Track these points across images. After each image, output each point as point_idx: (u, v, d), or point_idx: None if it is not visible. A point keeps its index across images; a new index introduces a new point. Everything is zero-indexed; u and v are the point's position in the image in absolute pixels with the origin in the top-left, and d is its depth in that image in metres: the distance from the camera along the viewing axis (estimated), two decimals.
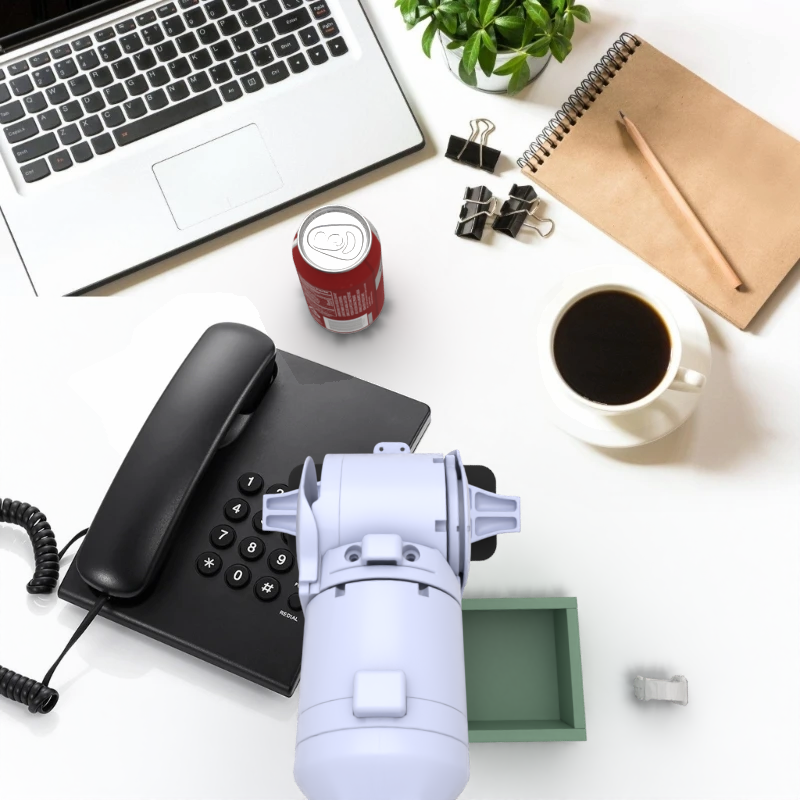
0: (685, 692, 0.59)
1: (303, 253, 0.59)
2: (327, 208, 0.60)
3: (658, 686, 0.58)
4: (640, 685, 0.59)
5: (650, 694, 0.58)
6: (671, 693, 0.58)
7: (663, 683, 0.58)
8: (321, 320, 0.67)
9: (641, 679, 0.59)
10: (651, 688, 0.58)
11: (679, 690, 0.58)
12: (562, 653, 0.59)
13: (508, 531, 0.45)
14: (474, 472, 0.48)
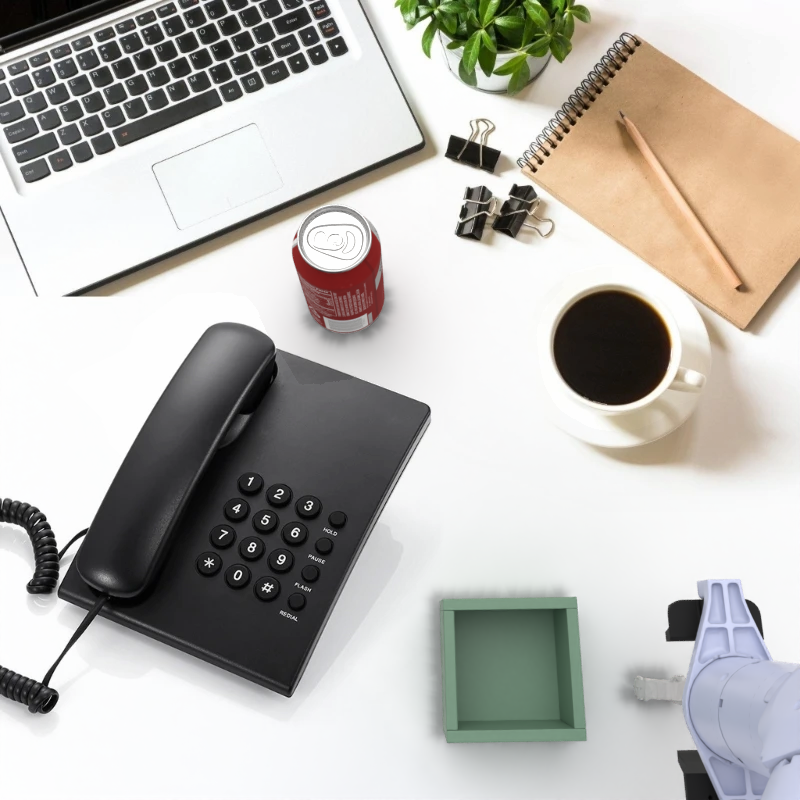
0: None
1: (303, 253, 0.59)
2: (327, 208, 0.60)
3: (658, 686, 0.58)
4: (640, 685, 0.59)
5: (650, 694, 0.58)
6: (671, 693, 0.58)
7: (663, 683, 0.58)
8: (321, 320, 0.67)
9: (641, 679, 0.59)
10: (651, 688, 0.58)
11: (679, 690, 0.58)
12: (562, 653, 0.59)
13: None
14: None
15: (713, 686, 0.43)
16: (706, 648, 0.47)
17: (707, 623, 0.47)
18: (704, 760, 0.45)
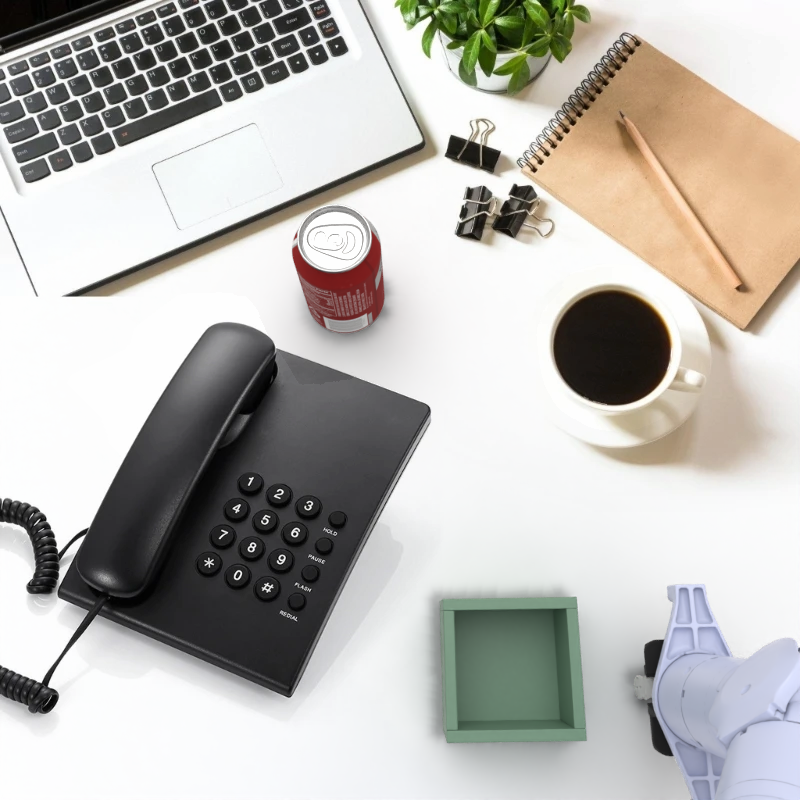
0: None
1: (303, 253, 0.59)
2: (327, 208, 0.60)
3: None
4: (640, 684, 0.59)
5: (650, 693, 0.58)
6: None
7: None
8: (321, 320, 0.67)
9: (641, 678, 0.59)
10: (650, 687, 0.59)
11: None
12: (562, 653, 0.59)
13: None
14: None
15: (678, 679, 0.49)
16: (674, 646, 0.53)
17: (675, 623, 0.53)
18: (670, 745, 0.51)
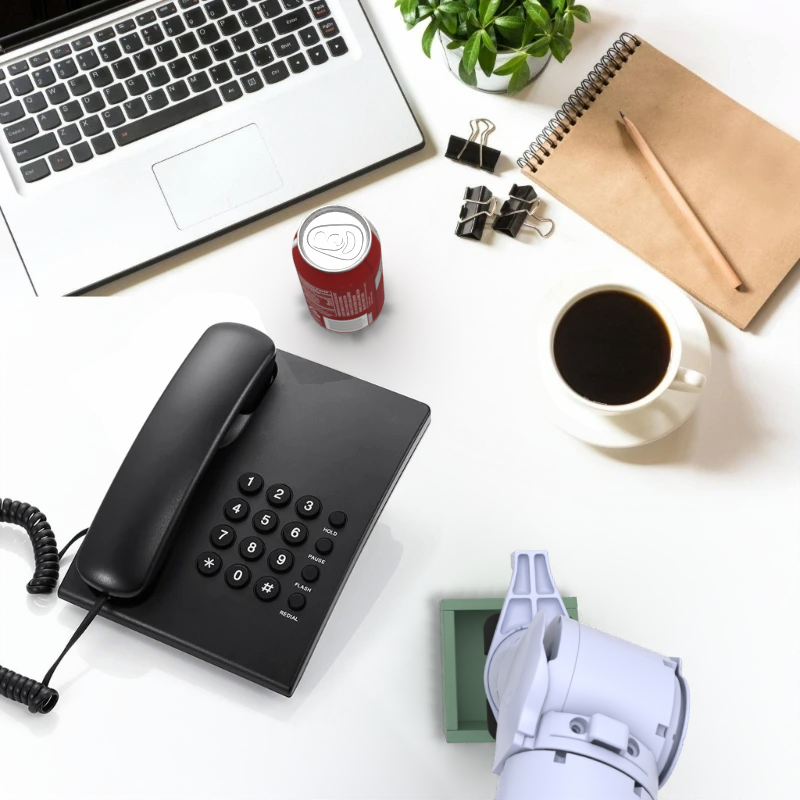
0: None
1: (303, 253, 0.59)
2: (327, 208, 0.60)
3: None
4: None
5: None
6: None
7: None
8: (321, 320, 0.67)
9: None
10: None
11: None
12: None
13: None
14: None
15: (500, 654, 0.43)
16: (510, 619, 0.47)
17: (511, 594, 0.47)
18: None
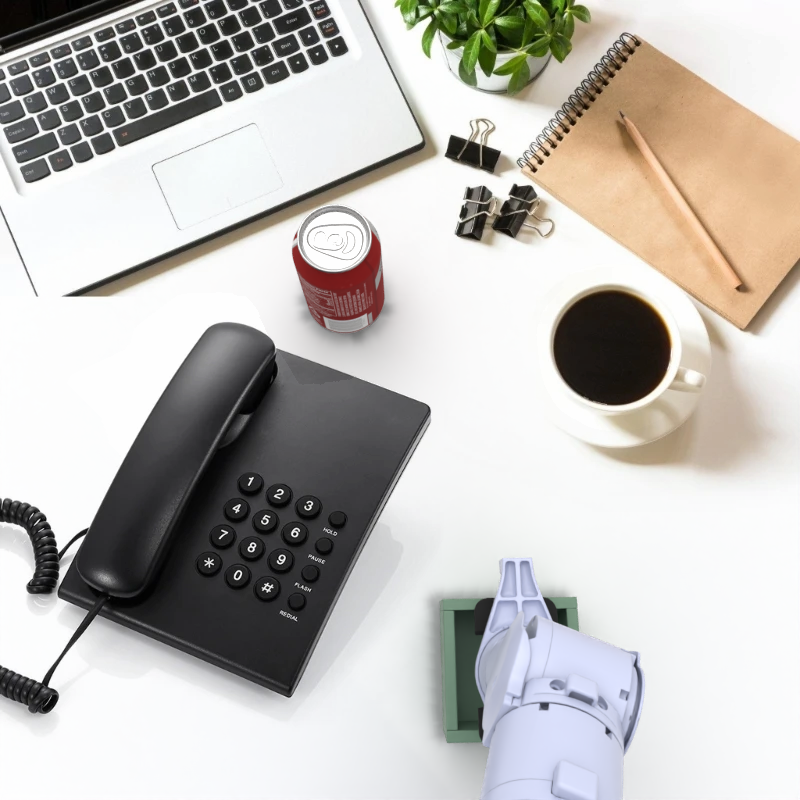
0: None
1: (303, 253, 0.59)
2: (327, 208, 0.60)
3: None
4: None
5: None
6: None
7: None
8: (321, 320, 0.67)
9: None
10: None
11: None
12: None
13: None
14: None
15: (489, 650, 0.49)
16: (499, 619, 0.53)
17: (499, 596, 0.53)
18: None
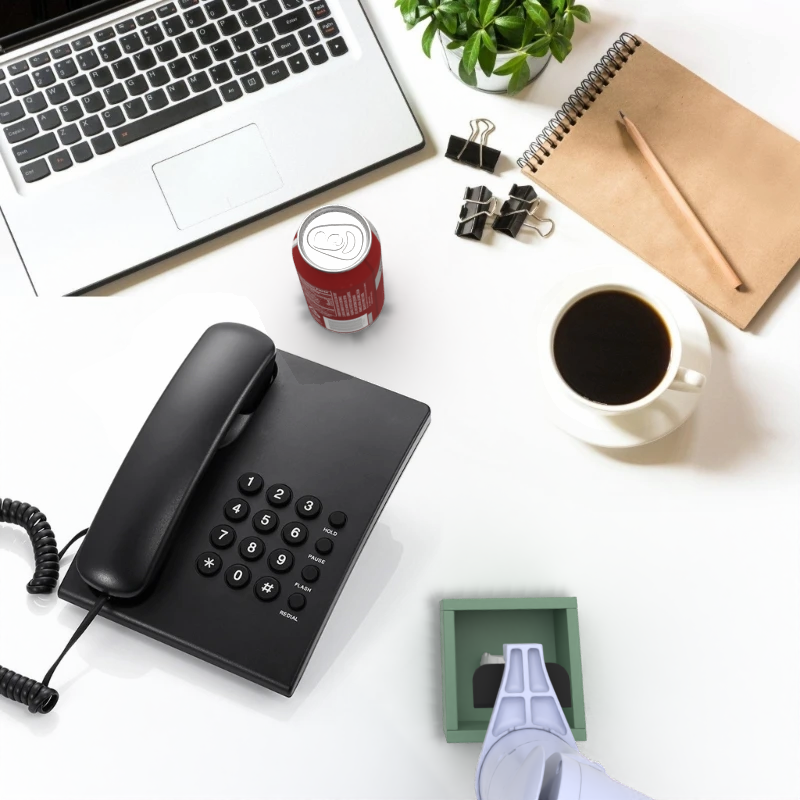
0: None
1: (303, 253, 0.59)
2: (327, 208, 0.60)
3: (499, 662, 0.58)
4: (484, 661, 0.59)
5: None
6: None
7: None
8: (321, 320, 0.67)
9: (485, 655, 0.59)
10: None
11: None
12: (562, 653, 0.59)
13: None
14: None
15: (492, 765, 0.40)
16: (503, 719, 0.44)
17: (504, 692, 0.44)
18: None
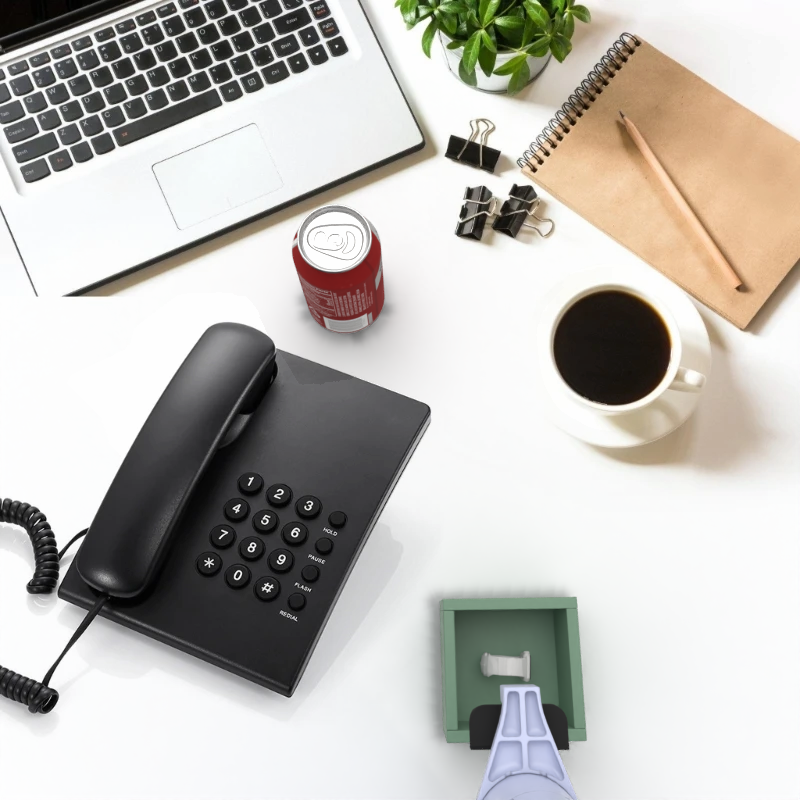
0: (528, 667, 0.58)
1: (303, 253, 0.59)
2: (327, 208, 0.60)
3: (499, 662, 0.58)
4: (484, 661, 0.59)
5: (491, 670, 0.58)
6: (511, 668, 0.58)
7: (504, 659, 0.58)
8: (321, 320, 0.67)
9: (485, 655, 0.59)
10: (492, 664, 0.58)
11: (520, 666, 0.58)
12: (562, 653, 0.59)
13: None
14: None
15: None
16: (500, 763, 0.44)
17: (500, 736, 0.44)
18: None
